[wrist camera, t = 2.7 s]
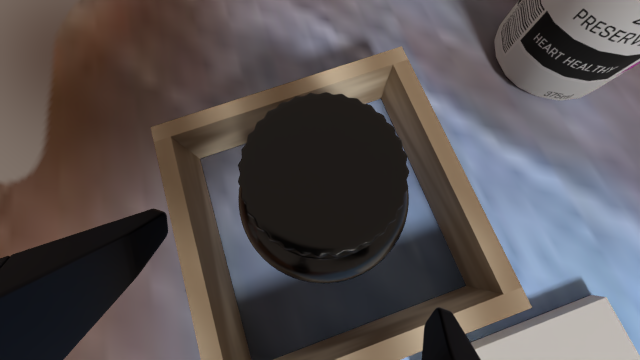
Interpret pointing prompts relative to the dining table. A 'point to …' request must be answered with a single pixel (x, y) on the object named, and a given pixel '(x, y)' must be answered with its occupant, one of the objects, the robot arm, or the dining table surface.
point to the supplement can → (568, 45)
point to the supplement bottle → (323, 188)
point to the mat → (563, 335)
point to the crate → (432, 173)
